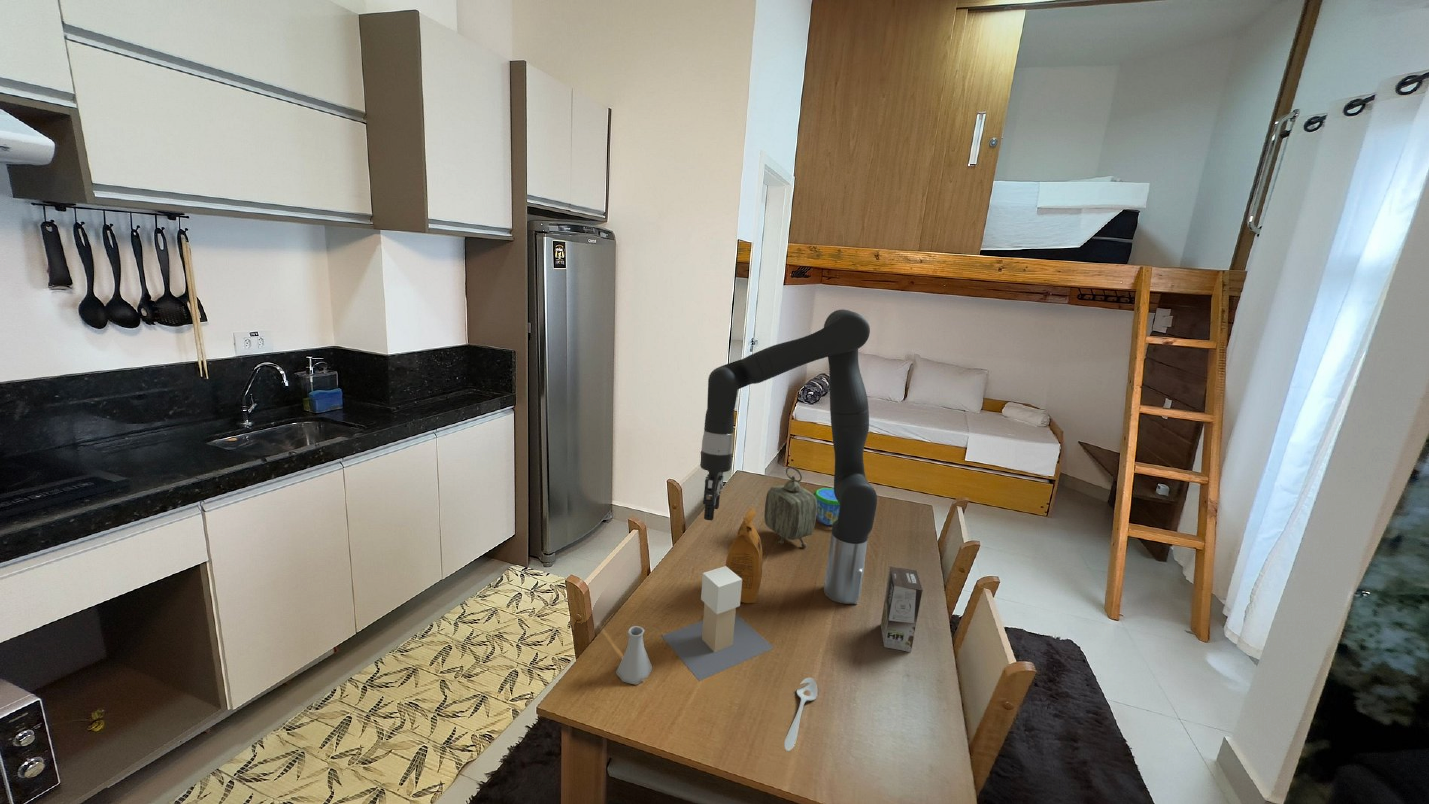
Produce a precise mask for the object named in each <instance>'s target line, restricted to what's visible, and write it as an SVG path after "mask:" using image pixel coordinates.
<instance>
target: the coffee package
mask: <svg viewBox="0 0 1429 804" xmlns="http://www.w3.org/2000/svg"><path fill="white" fill-rule="evenodd" d="M756 515H757V512H756V510H755V509H754V508H749V510H748V511H747V512H746V514H745V515H744V516H743V518H742V519H743V521H742V522H741V524H740V526H739V527H738V529H737V532H736V536H735V538H734V539H733V541H732V543H731V545H730V547H729V551H728V552H727V553H728V554H727V556H726V560H725V565H724V566H727V567H728V568H729V569H730V570H731V571H733V572H734V573H735V574H736V575H737V576H739V577H740V578H741V579H742V588H741V599H740V603H744V604H755V603H756V602H757V599H758V596H759V592H760V587H761V582H762V577H763V576H762V575H763V546H762V541H761V537H760V535H759V533H758V531H757V529H756V528H755V526H754V522H753V520H754V518H755V517H756Z"/></svg>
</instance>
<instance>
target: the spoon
mask: <svg viewBox="0 0 1429 804" xmlns="http://www.w3.org/2000/svg"><path fill="white" fill-rule="evenodd" d="M816 682H817V681H816V680H815V679H814V678H813V677H806V678H804V679H803V680H802V681H800V683H799V685H802V684H805V685H803V686H801V687H799V688H798V689H796V695H797V696H798V697H799V698H800V703H799V705H798V706H799V707H798V708H797V709H798V710H797V713H796V714H795V717H794V719H793V721H792V724H791V726H790V727H789V730H788V732H787V735H786V737H785V739H784V750H786V751H788V752H790V751H791V750H792V749H794V748H795V745H796V742H797V739H798V735H799V729H800V728H799V727H800V722H801V717H802V713H803V708H804V706H805V703H806V702H809V701H811V702H812V701H815V700H816V698H817V697H818V685H817V683H816ZM806 691H808V692H809V695H806V694H804V692H806ZM794 744H795V745H794Z"/></svg>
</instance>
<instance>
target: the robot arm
mask: <svg viewBox="0 0 1429 804" xmlns="http://www.w3.org/2000/svg"><path fill="white" fill-rule="evenodd" d="M870 334H871V328H870V324H869V322H868V320H867V319H866V317H864V316H862V314H859V313H858V312H854V311H851V310H849V309H843V308H842V309H837V310H834V311H833V312H831V313H830V314H829V315H828V316H827V317H826V319H825V322H824V325H823V328H821V329H819V330H817V331H815V332H813V333H810V334H808V335H805V336H803V337H799V338H796V339H793V340H788V341H785V342H781V343H777V344H774V345H770V346H768V347H766V348H764V349H761V350H759V351H756V352H754V353H752V354H749V355H748V356H746V357H744V358H742V359H738V360H734V361H732V362H729V363H727V364H724V365H721V366H718V367H716V368H714V369H713V370H712V371H711V372H710V373H709V375H708V379H707V380H708V381H707V405H706V406H707V408H706V412H705V416H704V418H705V419H704V428H703V429H704V430H703V435H702V439H701V452H700V461H699V463H700V465H699V467H700V468H701V469H702V470H704V471H707V472H708V473H707V475H706V476H705V480H704V492H703V501H702V503H703V505H704V514H703V515H704V517H703V519H704V520H705V521H712V522H713V520H714V518H715V517H714V515H715V510H718V509H719V507H720V497H721V494H722V489H723V485H724V477H725V476H724V473H727V472H729V471H731V469H732V463H733V462H732V461H733V450H734V426H735V409H736V402H737V398H738V391H739V389H742V388H745V387H747V386H749V385H755V384H759V383H760V384H761V383H763V382H765V381H768V380H770V379H773V378H775V377H777V376H780V375H782V374H784V373H786V372H790V371H791V370H794V369H797V368H800V367H801V366H804V365H807V364H809V363H812V362H816V361H817V360H818V361H819V360H821V359H824V358H827V362H828V370H829V373H828V374H829V384H828V386H829V411H830V413H829V414H830V426H831V435H832V444H833V451H834V453H833V454H834V471H833V472H834V476H833V489H834V494H835V497H836V499H837V501H838V502H839V504H840V509H839V516H838V520H836V521H835V522H834V523H833V525H831V536H830V541H829V548H828V549H829V550H828V556H827V557H828V559H827V565H826V572H825V581H824V588H823V592H824V594H825V596H826V597H828V599H829V600H832V601H833V602H836V603H839V604H844V605H846V604H847V605H849V604H854V605H858V603H859V599H860V596H861V593H862V584H863V579H864V578H863V577H864V573H865V565H866V561H865V560H866V555H867V554H866V552H867V549H868V548H867V546H868V539H869V535H870V533H871V531H872V530H873V526H874V522H875V518H876V511H877V504H878V495H877V491H876V490H875V488H874V487H873V486H872V485H871V483H870V482H869V481H868V479H867V476H866V471H865V464H864V448H865V445H866V442H867V438H868V435H869V431H870V413H869V412H870V411H869V401H868V394H867V391H866V387H865V383H864V381H863V377H862V374H861V369H860V364H859V349H861V348H862V347H864V345H865V344H866V343H867V341H869V337H870ZM709 497H710V499H708V498H709Z"/></svg>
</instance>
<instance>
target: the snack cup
mask: <svg viewBox="0 0 1429 804" xmlns="http://www.w3.org/2000/svg"><path fill="white" fill-rule="evenodd" d="M812 494H813V495H814V496H815V497H816V502H817V512H816V520H817V521H818V522H819V523H821V524H823V525H826V526H833V523H834V522H835V521H836V520H838V516H839V509H840V504H839V502H838V501H837V499H836V497H835V494H834V488H832V487H831V488H830V487H822V488H819V489H816V490H815V491H814V492H813V493H812Z"/></svg>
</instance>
